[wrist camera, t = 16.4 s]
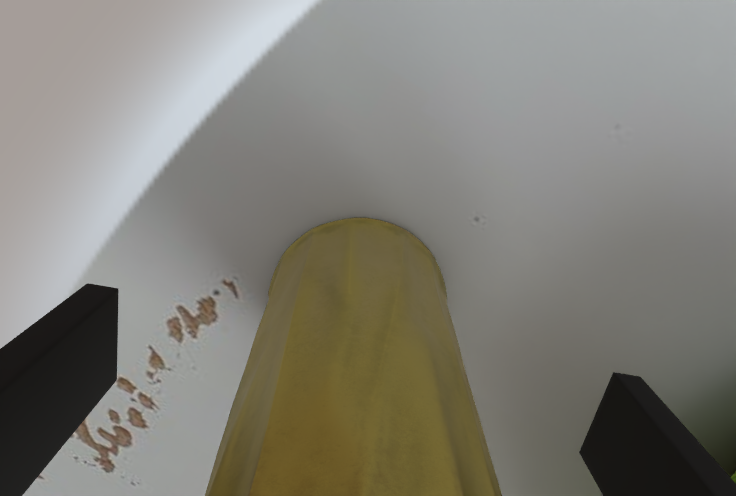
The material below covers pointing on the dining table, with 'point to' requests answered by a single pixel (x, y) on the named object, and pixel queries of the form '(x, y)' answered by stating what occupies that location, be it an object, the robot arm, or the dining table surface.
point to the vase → (355, 378)
